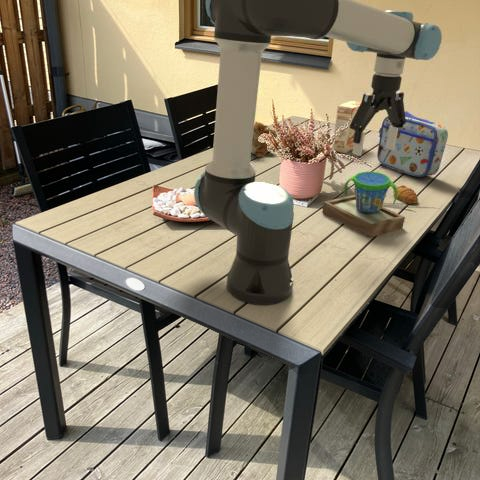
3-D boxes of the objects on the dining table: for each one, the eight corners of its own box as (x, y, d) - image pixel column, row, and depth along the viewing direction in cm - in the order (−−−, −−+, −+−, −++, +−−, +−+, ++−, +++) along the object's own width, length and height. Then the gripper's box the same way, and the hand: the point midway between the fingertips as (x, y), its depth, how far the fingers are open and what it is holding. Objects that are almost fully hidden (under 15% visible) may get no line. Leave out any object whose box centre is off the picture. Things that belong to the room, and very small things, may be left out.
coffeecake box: (345, 153, 215) (353, 107, 206) (330, 150, 218) (337, 105, 209) (358, 146, 226) (365, 102, 218) (343, 143, 230) (350, 100, 221)
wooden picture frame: (369, 237, 141) (372, 226, 139) (322, 212, 155) (323, 201, 154) (402, 227, 148) (404, 217, 146) (354, 204, 163) (355, 194, 161)
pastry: (422, 204, 166) (424, 194, 165) (404, 205, 165) (406, 195, 163) (407, 194, 174) (409, 184, 173) (390, 195, 173) (392, 185, 171)
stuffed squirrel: (239, 152, 207) (241, 121, 201) (262, 147, 216) (265, 117, 210) (256, 159, 201) (258, 126, 195) (279, 153, 210) (282, 122, 204)
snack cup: (399, 207, 152) (403, 176, 147) (388, 221, 144) (392, 189, 139) (350, 197, 159) (353, 167, 154) (337, 210, 151) (340, 179, 146)
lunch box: (368, 162, 205) (378, 108, 196) (385, 158, 211) (395, 106, 201) (423, 183, 186) (437, 124, 176) (440, 179, 191) (455, 121, 181)
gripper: (365, 78, 123) (351, 160, 133) (429, 74, 136) (412, 150, 146) (344, 73, 129) (332, 153, 138) (407, 70, 142) (392, 143, 151)
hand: (373, 151), depth 142 cm, fingers open, 13 cm apart
